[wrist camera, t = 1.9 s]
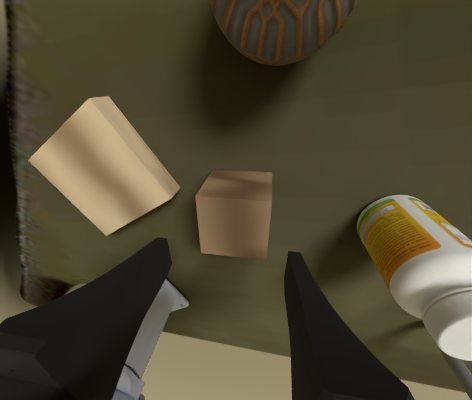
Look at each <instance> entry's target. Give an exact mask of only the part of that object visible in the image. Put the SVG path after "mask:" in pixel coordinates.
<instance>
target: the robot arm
mask: <svg viewBox="0 0 472 400" xmlns="http://www.w3.org/2000/svg"><path fill="white" fill-rule="evenodd" d="M171 264H172V262H171V257H170V252H169V246H168V241H167V238H156V239H155V240H153V241H152V242H150V243H149V244H148V245H146V246H145V247H144V248H142V249H141V250H139V251H138V252H137V253H135V254H134V255H133V256H131V257H130V258H128V259H127V260H125V261H124V262H122V263H121V264H119V265H118V266H116V267H115V268H113V269H112V270H110V271H109V272H107V273H106V274H104V275H102V276H101V277H99V278H97V279H95V280H94V281H92V282H90V283H88V284H86V285H84V286H82V287H80V288H78V289H76V290H74V291H72V292H70V293H68V294H66V295H64V296H62V297H60V298H57V299H55V300H53V301H51V302H48V303H46V304H44V305H41V306H39V307H36V308H34V309H31V310H28V311H26V312H23V313H20V314H18V315H15V316H12V317H9V318H7V319H5V320H4V321H3V322H2V323H1V324H0V400H145V397H144V396H143V395H142V394H141V391H142V389H143V387H144V385H145V382H144V381H142V380H141V378H142V375H143V373H144V371H145V369H146V366H147V364H148V362H149V359H150V357H151V355H152V353H153V350H154V348H155V346H156V344H157V341H158V339H159V337H160V334H161V332H162V330H163V328H164V325H165V323H166V321H167V319H168V316H169V314H170V312H172V311H175V310H178V309H181V308H185V307H188V305H189V302H188V300H187V299H186V298H185V297H184V296H183V295H182V294H181V293H180V292H179V291H178V290H177V289H176V288H175V287H174V286H173V285H172V284H171V283H170V282H169V281H168V280H167V279H166V277H167V274H168V272H169V269H170V267H171ZM284 288H285V302H286V310H287V318H288V326H289V334H290V346H291V373H292V374H291V375H292V400H414V398H413V396H412V394H411V392H410V390H409V389H408V387H407V386H406V385H405V384H404V383H402V382H401V381H400V380H399V379H398V378H397V377H396V376H395V375H394V374H393V373H392V372H391V371H389V370H388V369H387V368H386V367H385V366H384V365H383V364H382V363H381V362H380V361H379V360H378V359H377V358H376V357H375V356H374V355H373V354H372V353H371V352H370V351H369V350H368V349H367V348H366V346H365V345H364V344H363V343H362V342H361V341H360V340H359V339H358V338H357V337H356V335H355V334H354V333H353V332H352V331H351V330H350V329H349V327H348V326H347V325H346V324H345V323H344V321H343V320H342V319H341V318H340V316H339V315H338V314H337V312H336V311H335V310H334V309H333V307H332V306H331V304H330V303H329V302H328V300H327V299H326V297H325V296H324V294H323V293H322V291H321V290H320V288H319V286H318V285H317V283H316V281H315V280H314V278H313V276H312V274H311V273H310V271H309V269H308V267H307V265H306V263H305V261H304V259H303V257H302V254H301V253H300V252H292V251H288V258H287V264H286V270H285V276H284Z"/></svg>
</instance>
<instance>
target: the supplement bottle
mask: <svg viewBox="0 0 472 400" xmlns="http://www.w3.org/2000/svg"><path fill="white" fill-rule="evenodd" d="M357 232H358V235H359V237H360V239H361V241H362V242H363V244H364V246H365V248H366V250H367V251H368V253H369V255H370V256H371V258H372V260H373V262H374V264H375V265H376V267H377V269H378V271H379V273H380V274H381V276H382V278H383V280H384V281H385V283H386V285H387V287H388V289H389V290H390V292H391V294H392V296H393V297H394V299H395V300H396V302H397V303H398V304H399V306H400V307H401V308H402V309H404V310H405V311H406V312H408V313H409V314H411V315H413V316H415V317H417V318H420V319H422V321H423V323H424V325H425V327H426V329H427V331H428V332H429V334H430V335H431V336H432V338H433V339H434V341H435V343H436V344H437V346H438V347H439V348H440V349H441V350H442V351H443V352H444V353H446V354H447V355H449V356H452V357H454V358H458V359H462V360H468V361H472V241H471V240H470V239H468V238H467V237H466V236H465V235H464V234H462V233H461V232H460V231H459V230H458V229H456V228H455V227H454V226H452V225H451V224H450V223H449V222H447V221H446V220H445V219H444V218H442V217H441V216H440V215H439V214H437V213H436V212H435V211H434V210H432V209H431V208H430V207H429V206H428V205H426V204H425V203H423V202H422V201H421V200H419V199H417V198H415V197H412V196H408V195H392V196H387V197H384V198H381V199H379V200H377V201H375V202H373V203H371V204H370V205H369V206H367V207H366V208H365V209H364V210H363V211H362V213H361V214H360V216H359V218H358V221H357Z"/></svg>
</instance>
